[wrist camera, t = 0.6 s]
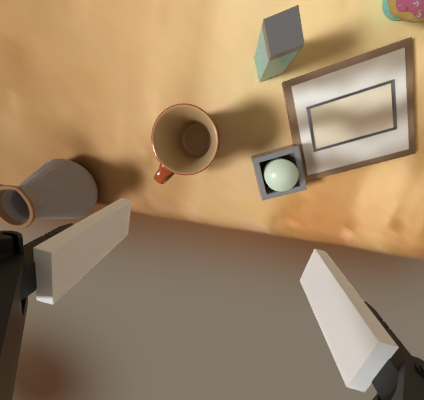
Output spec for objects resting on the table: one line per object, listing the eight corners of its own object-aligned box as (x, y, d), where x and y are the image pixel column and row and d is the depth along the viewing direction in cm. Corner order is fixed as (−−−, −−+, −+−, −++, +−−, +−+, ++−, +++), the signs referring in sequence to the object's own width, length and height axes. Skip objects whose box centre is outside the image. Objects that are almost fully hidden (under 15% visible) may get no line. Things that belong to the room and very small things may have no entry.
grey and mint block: (254, 57, 31) (263, 19, 21) (276, 49, 30) (298, 5, 20) (259, 81, 32) (270, 56, 22) (281, 73, 31) (304, 43, 21)
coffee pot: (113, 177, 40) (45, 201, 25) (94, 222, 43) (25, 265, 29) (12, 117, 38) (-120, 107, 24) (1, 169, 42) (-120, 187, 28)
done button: (259, 162, 34) (262, 165, 31) (289, 153, 33) (295, 156, 30) (266, 189, 35) (269, 194, 32) (294, 182, 34) (301, 187, 31)
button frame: (250, 156, 36) (252, 159, 32) (292, 144, 34) (298, 145, 31) (260, 194, 37) (262, 200, 34) (299, 183, 36) (306, 189, 32)
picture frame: (281, 83, 32) (283, 81, 30) (405, 40, 28) (413, 35, 27) (300, 181, 36) (302, 182, 35) (410, 152, 33) (417, 153, 31)
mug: (194, 100, 34) (177, 86, 24) (234, 135, 35) (233, 136, 25) (154, 157, 37) (126, 165, 28) (191, 187, 38) (176, 205, 29)
